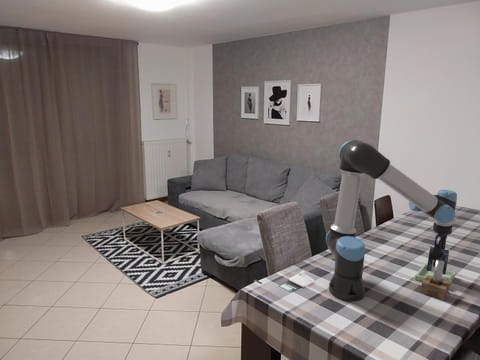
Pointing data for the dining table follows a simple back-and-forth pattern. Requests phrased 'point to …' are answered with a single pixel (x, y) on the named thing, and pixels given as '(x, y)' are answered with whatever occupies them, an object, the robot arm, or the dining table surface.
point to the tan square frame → (435, 288)
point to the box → (443, 257)
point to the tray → (423, 274)
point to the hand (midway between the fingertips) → (436, 270)
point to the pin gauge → (438, 272)
